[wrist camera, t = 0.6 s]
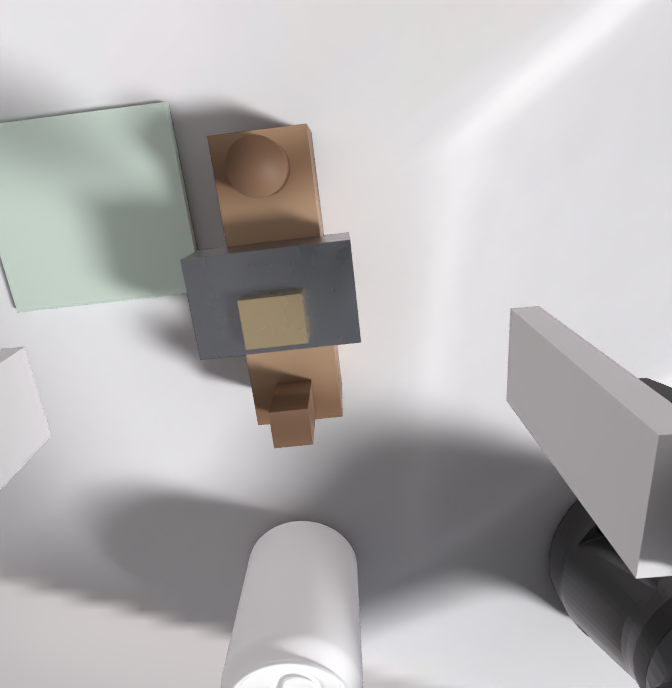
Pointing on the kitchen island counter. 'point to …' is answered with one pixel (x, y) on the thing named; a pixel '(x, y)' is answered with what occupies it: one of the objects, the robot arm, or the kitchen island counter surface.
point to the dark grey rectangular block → (272, 296)
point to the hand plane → (273, 225)
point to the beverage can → (297, 613)
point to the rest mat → (93, 208)
